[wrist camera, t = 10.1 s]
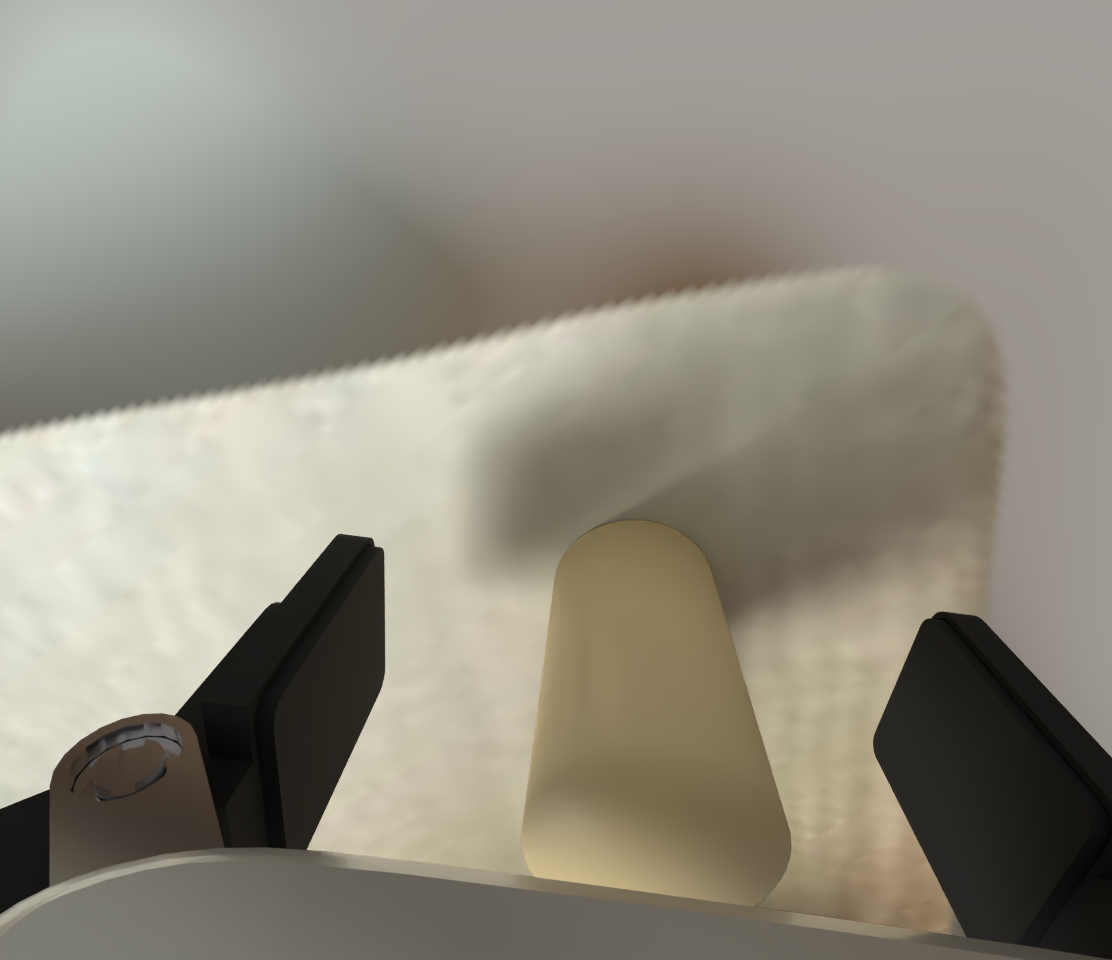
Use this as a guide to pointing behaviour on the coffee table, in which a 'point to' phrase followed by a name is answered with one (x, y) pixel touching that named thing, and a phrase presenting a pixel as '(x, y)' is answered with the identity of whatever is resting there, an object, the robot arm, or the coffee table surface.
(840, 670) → the coffee table surface
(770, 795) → the white block with handle
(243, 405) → the coffee table surface
